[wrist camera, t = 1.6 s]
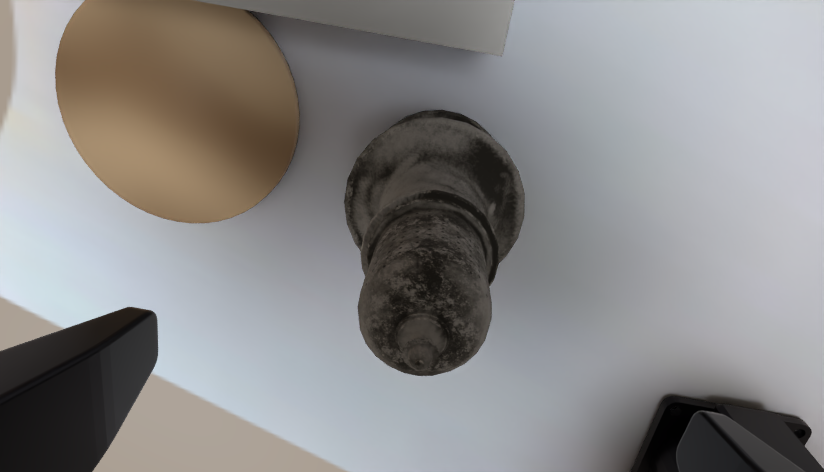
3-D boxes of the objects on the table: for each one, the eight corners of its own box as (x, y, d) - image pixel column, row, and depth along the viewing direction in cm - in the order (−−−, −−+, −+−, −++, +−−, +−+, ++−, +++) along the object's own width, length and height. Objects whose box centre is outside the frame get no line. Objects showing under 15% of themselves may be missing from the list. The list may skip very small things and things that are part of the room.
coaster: (290, 235, 21) (285, 241, 21) (76, 196, 21) (66, 201, 21) (309, 0, 18) (304, -1, 17) (54, -46, 18) (42, -48, 17)
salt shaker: (343, 221, 21) (226, 438, 10) (387, 79, 19) (297, 155, 8) (479, 266, 21) (510, 525, 10) (537, 132, 19) (657, 280, 8)
